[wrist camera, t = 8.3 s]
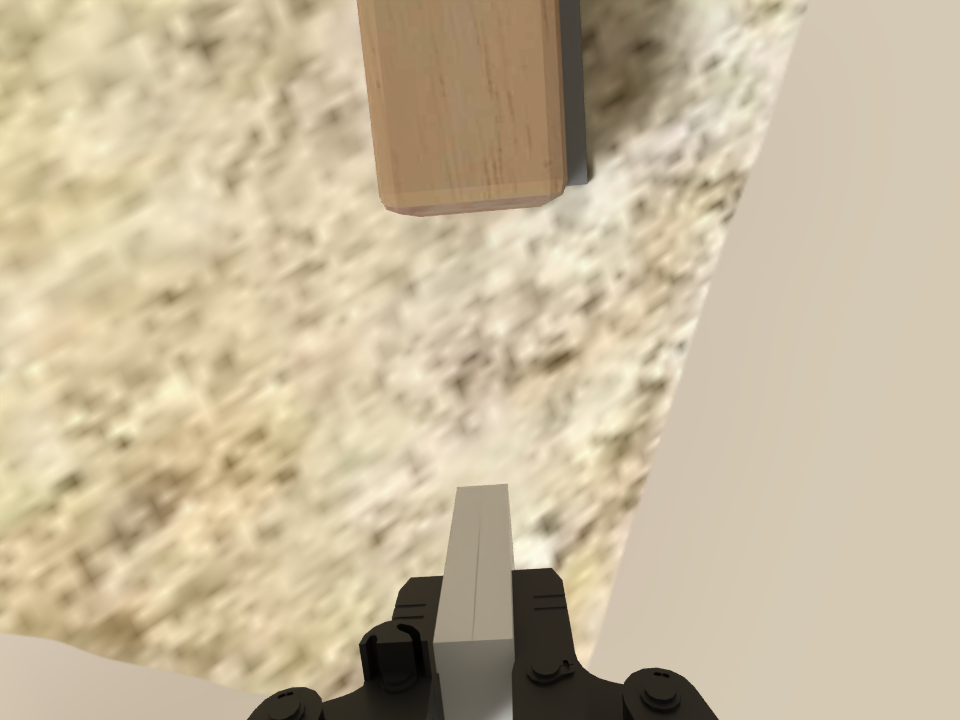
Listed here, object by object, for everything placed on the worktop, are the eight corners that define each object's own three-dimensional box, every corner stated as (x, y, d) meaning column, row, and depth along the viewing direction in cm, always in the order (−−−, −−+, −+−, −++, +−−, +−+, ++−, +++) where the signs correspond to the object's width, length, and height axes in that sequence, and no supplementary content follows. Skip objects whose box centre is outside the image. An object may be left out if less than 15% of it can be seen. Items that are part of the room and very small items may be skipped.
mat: (342, -149, 36) (339, -155, 36) (570, -177, 35) (571, -184, 35) (383, 202, 41) (381, 202, 40) (586, 183, 40) (587, 183, 39)
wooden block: (553, 205, 40) (535, -136, 35) (570, 198, 30) (548, -273, 26) (407, 218, 40) (372, -116, 36) (377, 215, 31) (324, -245, 26)
